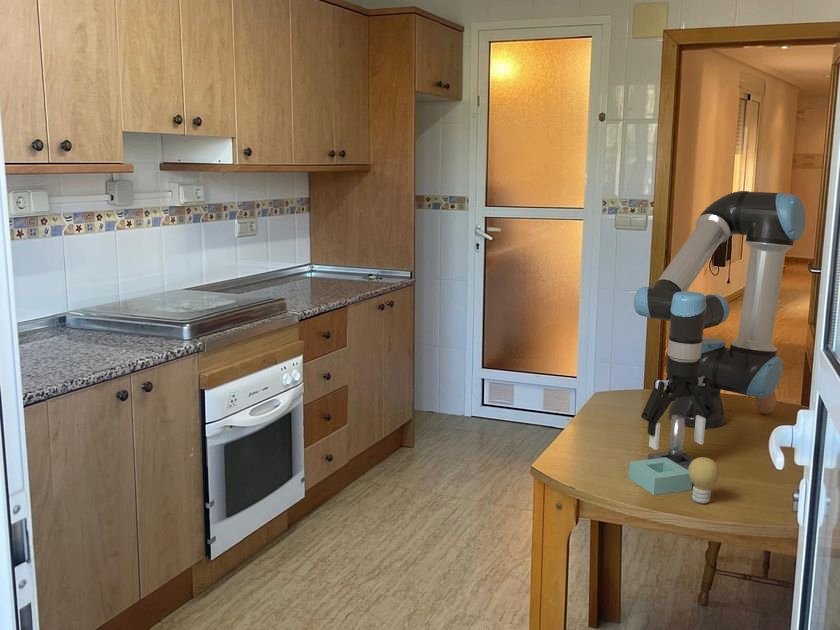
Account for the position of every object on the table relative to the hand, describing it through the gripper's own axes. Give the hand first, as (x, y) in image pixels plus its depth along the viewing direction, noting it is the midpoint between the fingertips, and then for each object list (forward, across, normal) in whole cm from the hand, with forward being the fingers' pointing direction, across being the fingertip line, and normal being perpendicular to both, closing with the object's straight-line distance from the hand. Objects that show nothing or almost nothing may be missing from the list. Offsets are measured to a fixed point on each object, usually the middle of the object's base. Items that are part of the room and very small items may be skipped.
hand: (676, 445), depth 201 cm
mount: (+6, 0, 0) cm, 6 cm away
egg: (+6, -51, -28) cm, 58 cm away
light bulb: (+6, +6, +18) cm, 20 cm away
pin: (+6, 0, 0) cm, 6 cm away
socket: (+6, +9, +7) cm, 13 cm away
